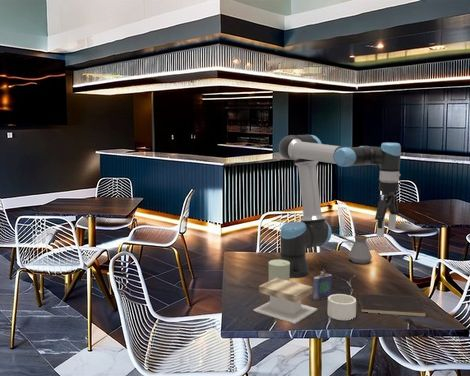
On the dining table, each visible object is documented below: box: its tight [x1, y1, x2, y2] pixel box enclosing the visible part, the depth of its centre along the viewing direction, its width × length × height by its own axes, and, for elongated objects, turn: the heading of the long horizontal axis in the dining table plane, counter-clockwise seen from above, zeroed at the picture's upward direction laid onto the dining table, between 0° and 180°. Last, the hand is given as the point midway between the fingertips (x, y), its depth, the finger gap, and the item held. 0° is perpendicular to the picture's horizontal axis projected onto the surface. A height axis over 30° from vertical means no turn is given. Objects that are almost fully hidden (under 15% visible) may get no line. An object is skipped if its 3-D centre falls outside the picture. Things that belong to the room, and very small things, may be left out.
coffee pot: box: [331, 231, 373, 265], centre depth 239 cm, size 21×12×15 cm, turn 88°
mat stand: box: [253, 295, 318, 325], centre depth 177 cm, size 18×16×7 cm
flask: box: [312, 270, 333, 301], centre depth 190 cm, size 9×3×11 cm, turn 121°
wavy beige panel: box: [258, 278, 313, 303], centre depth 176 cm, size 16×12×2 cm
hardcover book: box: [357, 293, 427, 318], centre depth 181 cm, size 16×23×2 cm
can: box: [267, 259, 291, 282], centre depth 200 cm, size 9×9×12 cm
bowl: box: [327, 293, 357, 321], centre depth 173 cm, size 10×10×6 cm
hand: (386, 232), depth 193 cm, fingers open, 13 cm apart
